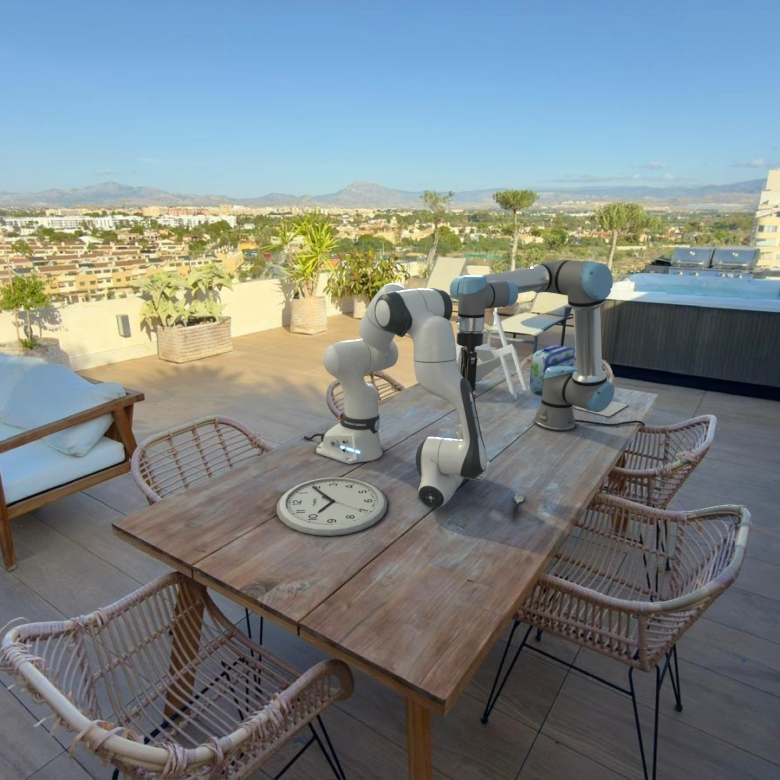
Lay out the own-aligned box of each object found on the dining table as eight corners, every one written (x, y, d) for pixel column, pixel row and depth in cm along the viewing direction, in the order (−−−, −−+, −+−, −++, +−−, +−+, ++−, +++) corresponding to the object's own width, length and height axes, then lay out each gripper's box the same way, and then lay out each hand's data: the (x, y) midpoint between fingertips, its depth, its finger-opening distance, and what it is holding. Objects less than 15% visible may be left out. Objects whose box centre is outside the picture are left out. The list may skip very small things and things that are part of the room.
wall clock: (392, 527, 129) (268, 531, 127) (391, 533, 130) (269, 537, 127) (383, 473, 158) (282, 475, 155) (383, 478, 158) (282, 480, 156)
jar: (462, 478, 160) (465, 429, 155) (451, 473, 163) (453, 425, 158) (471, 473, 163) (474, 425, 158) (459, 469, 166) (462, 421, 161)
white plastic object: (461, 429, 252) (437, 405, 227) (444, 352, 274) (420, 323, 250) (535, 404, 240) (518, 377, 215) (510, 326, 262) (492, 293, 237)
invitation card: (608, 416, 214) (573, 407, 224) (608, 416, 214) (573, 408, 224) (628, 404, 229) (594, 396, 238) (628, 405, 229) (594, 397, 238)
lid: (475, 398, 157) (476, 391, 157) (474, 404, 153) (474, 396, 152) (458, 397, 159) (459, 389, 158) (456, 402, 154) (456, 394, 153)
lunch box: (546, 398, 236) (551, 353, 229) (525, 393, 243) (529, 349, 237) (573, 387, 253) (579, 344, 247) (553, 382, 260) (558, 341, 254)
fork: (507, 521, 136) (508, 514, 136) (515, 493, 151) (516, 487, 150) (517, 523, 135) (518, 516, 135) (524, 495, 150) (525, 488, 149)
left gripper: (485, 469, 145) (497, 451, 157) (416, 456, 152) (432, 439, 165) (484, 490, 146) (495, 470, 159) (416, 475, 154) (431, 458, 166)
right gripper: (452, 325, 158) (449, 398, 165) (462, 337, 141) (457, 418, 148) (477, 325, 158) (473, 398, 165) (489, 337, 141) (484, 418, 148)
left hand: (462, 454), depth 162 cm, fingers closed on jar, 4 cm apart
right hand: (465, 407), depth 156 cm, fingers closed on lid, 5 cm apart
